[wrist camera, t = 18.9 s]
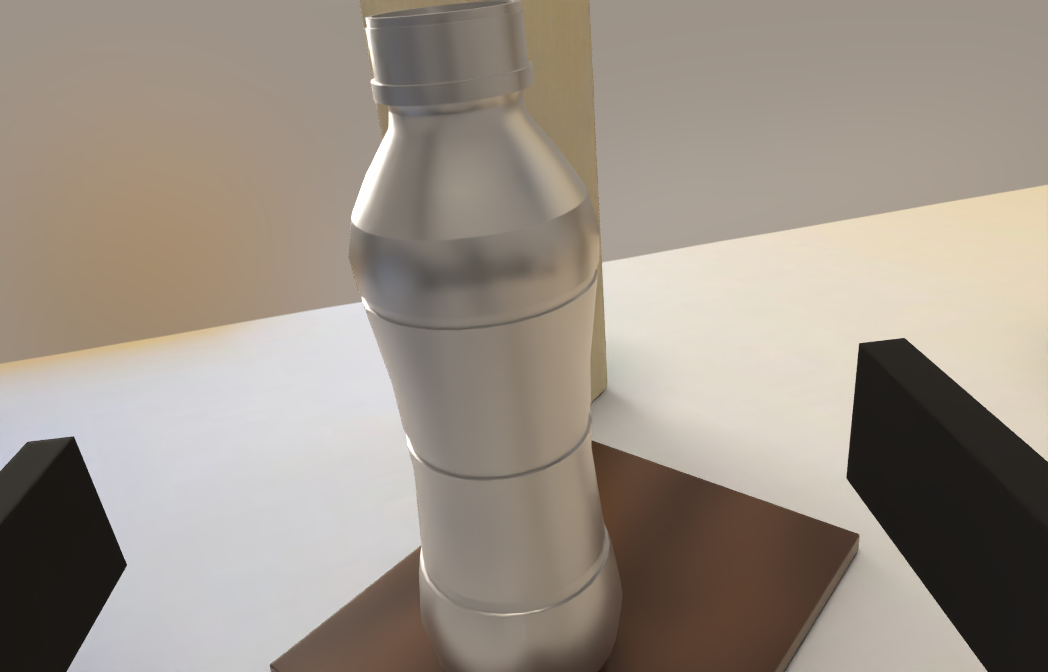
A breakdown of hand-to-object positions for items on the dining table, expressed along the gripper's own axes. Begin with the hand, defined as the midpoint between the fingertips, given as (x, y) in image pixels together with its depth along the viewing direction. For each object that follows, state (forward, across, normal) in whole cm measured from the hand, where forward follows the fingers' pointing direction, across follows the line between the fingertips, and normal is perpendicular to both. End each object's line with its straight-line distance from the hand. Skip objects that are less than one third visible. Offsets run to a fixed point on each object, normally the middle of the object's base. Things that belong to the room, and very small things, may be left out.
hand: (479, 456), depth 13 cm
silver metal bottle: (+8, 0, -14) cm, 16 cm away
